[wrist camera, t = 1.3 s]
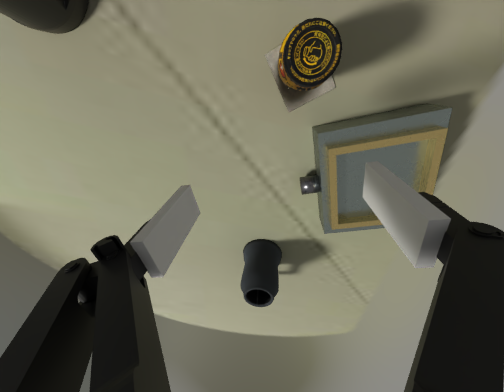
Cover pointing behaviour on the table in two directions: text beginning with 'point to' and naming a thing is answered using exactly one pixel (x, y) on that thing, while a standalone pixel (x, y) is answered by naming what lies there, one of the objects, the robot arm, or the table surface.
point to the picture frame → (369, 150)
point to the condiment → (306, 61)
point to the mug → (260, 272)
